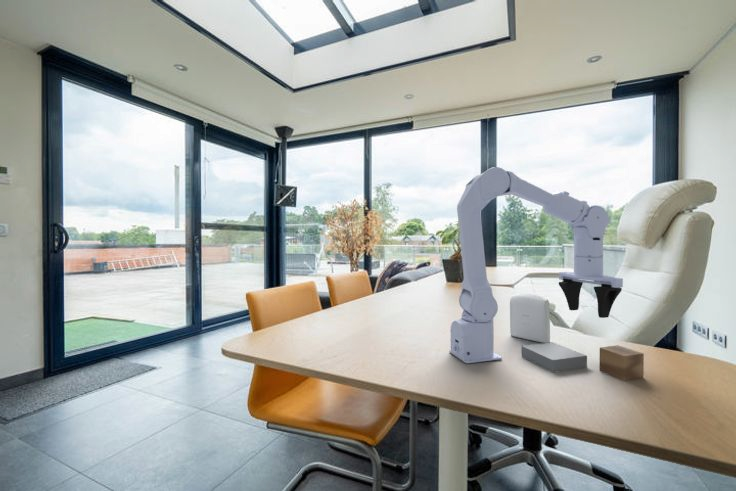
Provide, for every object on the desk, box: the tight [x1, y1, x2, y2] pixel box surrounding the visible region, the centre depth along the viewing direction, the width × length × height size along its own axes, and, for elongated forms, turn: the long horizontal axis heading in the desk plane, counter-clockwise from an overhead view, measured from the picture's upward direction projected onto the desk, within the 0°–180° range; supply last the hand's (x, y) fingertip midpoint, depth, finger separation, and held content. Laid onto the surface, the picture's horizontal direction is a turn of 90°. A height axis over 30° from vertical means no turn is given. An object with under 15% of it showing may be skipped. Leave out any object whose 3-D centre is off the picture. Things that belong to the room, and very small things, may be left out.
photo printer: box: [509, 293, 551, 344], centre depth 87 cm, size 10×4×12 cm, turn 39°
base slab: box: [521, 341, 588, 373], centre depth 71 cm, size 9×9×3 cm
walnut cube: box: [599, 344, 645, 382], centre depth 64 cm, size 5×5×5 cm
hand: (587, 313), depth 75 cm, fingers open, 7 cm apart
